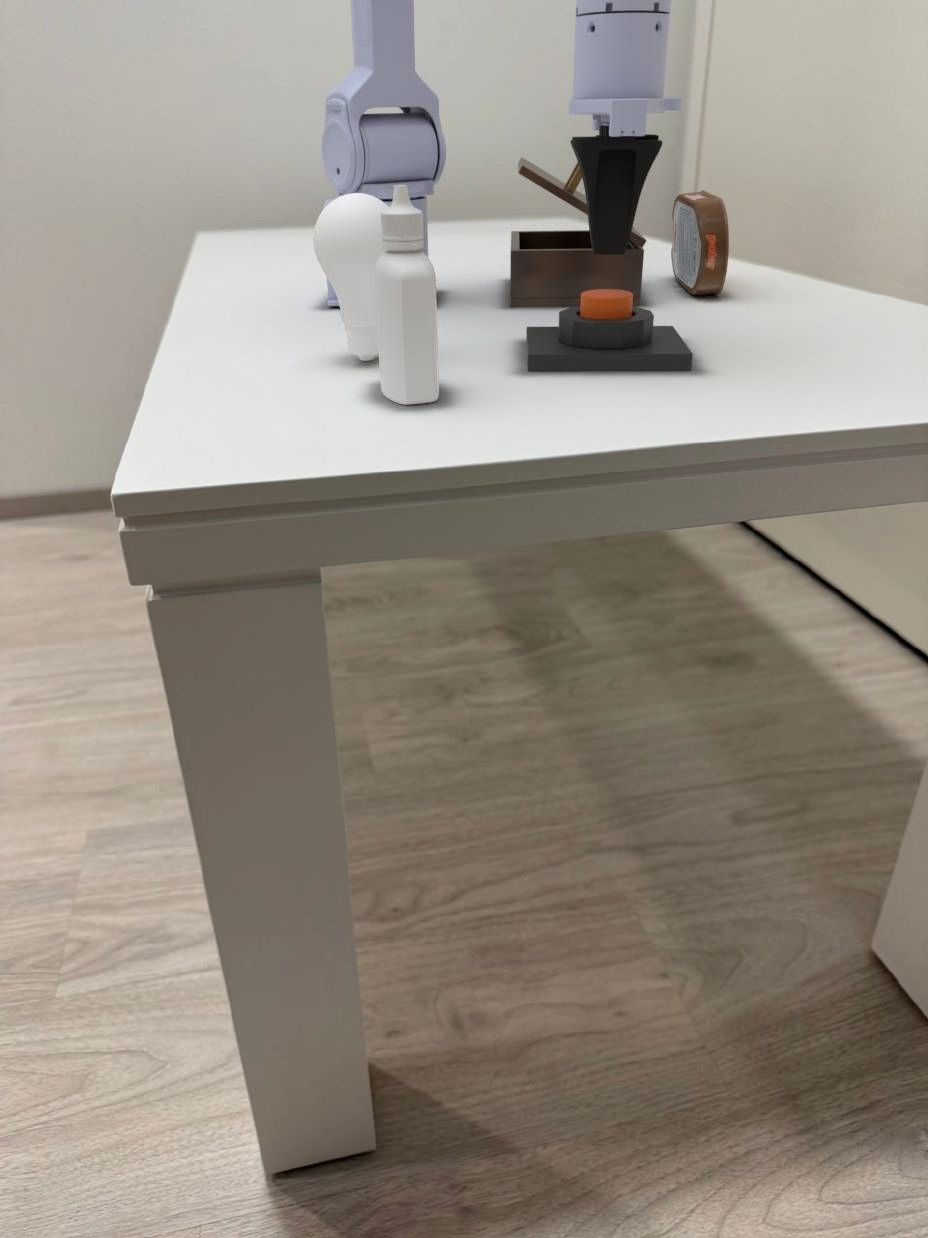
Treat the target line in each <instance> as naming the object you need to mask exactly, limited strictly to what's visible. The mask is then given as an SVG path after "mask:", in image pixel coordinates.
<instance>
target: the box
mask: <svg viewBox="0 0 928 1238" xmlns="http://www.w3.org/2000/svg"><path fill="white" fill-rule="evenodd" d="M644 256H645V249H644V247H643V248H641V247H640V246H638V245H636V244H635V243H633V242H632V241H630V240H629V242H628V246H627V249H626V251H625V254H620V255H595V254H594V252H593V249H592V244H591V239H590V231H589V229H581V230H580V229H579V230H577V229H576V230H575V229H574V230H572V229H571V230H570V229H569V230H567V229H566V230H512V231H511V232H510V266H509V267H510V273H509V274H510V276H509V277H510V280H509V281H510V282H509V283H510V284H509V286H510V287H509V289H510V290H509V291H510V292H509V296H510V297H509V306H510V308H570V307H577V306H581V293H582V292H585V291H588V290H596V289H616V290H624V291H629V292H631V293H633V303H632V306H634V307H640V306H641V297H642V287H643V286H642V284H643V272H644V271H643V270H644Z"/></svg>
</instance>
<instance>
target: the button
mask: <svg viewBox="0 0 928 1238" xmlns="http://www.w3.org/2000/svg"><path fill="white" fill-rule="evenodd" d="M632 303H633V293H631V292H629V291H624V290H616V289H596V290H588V291H585V292H582V293H581V306H580V316H581V317H585V318H592V319H622V318H629V317H632Z"/></svg>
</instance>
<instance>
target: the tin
mask: <svg viewBox="0 0 928 1238" xmlns="http://www.w3.org/2000/svg"><path fill="white" fill-rule="evenodd" d="M671 214H672V216H671V219H672V245H671V253H670V257H671V265H672V271H673V275H674V279H675V281H677V282H678V284H680V285H681V286H682V287H683V288H684V289H685V290H686V291H687V292H688V293H689V294H691V295H692V296H702V295H703V296H704V295H717V296H718V295H719V294H721V292H722V290H723V289H724V286H725V283H726V278H727V273H728V266H729V252H730V236H729V233H730V231H729V230H730V229H729V219H728V213H727V207H726V205H725V202H724V200H723V198H721V197H719V196H717V195H715V194H712V193H710V192H708V191H707V190H703V189H702V190H701V191H696V192H686V193H685V192H683V193H680V194H678V195H677V196H676V198H675V199H674V202H673V206H672V213H671Z"/></svg>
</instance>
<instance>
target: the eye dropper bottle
mask: <svg viewBox="0 0 928 1238" xmlns="http://www.w3.org/2000/svg"><path fill="white" fill-rule="evenodd" d="M381 226H382V245H383V249H387V251H385V252H384V253H383V255H382V256H381V257H380V258H379V259H378V261H377V263H376V265H375V270H374V280H375V299H376V316H377V333H378V350H379V354H378V365H379V366H378V367H379V383H380V390H381V393H382V395H383V396H384V397H385V398H387V399H388V400H390V401H392V402H394V403H396V404H400V405H403V406H404V405H405V406H412V405H420V404H421V405H422V404H430V403H434V402H436V401H437V400H438V399H439V397H440V372H439V370H440V369H439V367H440V365H439V338H438V337H439V333H438V304H437V303H438V302H437V291H436V287H437V278H436V277H437V276H436V271H435V268H434V265H433V263H432V262H431V260H430V258H428V257H429V256H428V257H427V256H426V255H425V253H424V252H423V251H422V250H419V249H421V248H424V239H423V238H424V233H423V212H422V211H420V210H418V209H417V208H415V207H414V206H412V204H411V202H410V199H409V194H408V189H407V185H395V186H394V194H393V201H392V204H391V206H390V207H389V208H388V209H386V210H384V211H383V212H382V213H381Z"/></svg>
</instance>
